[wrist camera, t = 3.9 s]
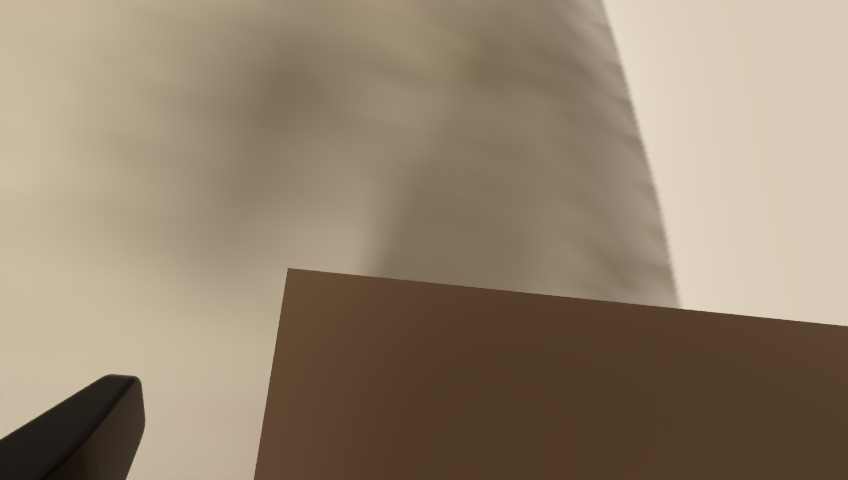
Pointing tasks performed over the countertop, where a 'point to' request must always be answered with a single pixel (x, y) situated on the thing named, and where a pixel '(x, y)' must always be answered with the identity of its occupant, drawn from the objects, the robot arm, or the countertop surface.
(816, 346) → the brown block
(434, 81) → the countertop surface
